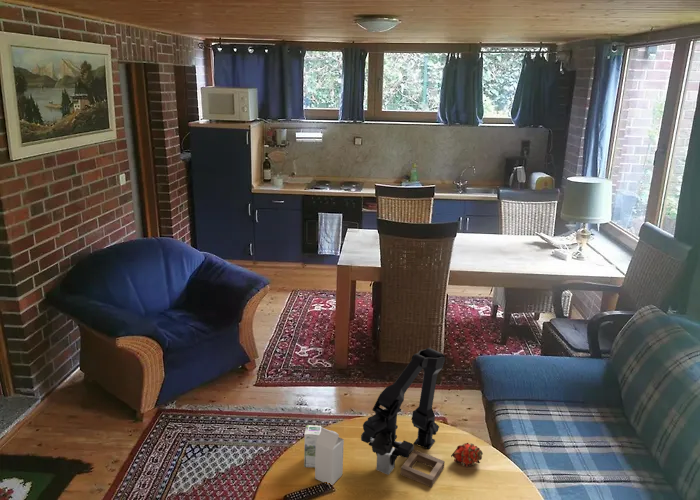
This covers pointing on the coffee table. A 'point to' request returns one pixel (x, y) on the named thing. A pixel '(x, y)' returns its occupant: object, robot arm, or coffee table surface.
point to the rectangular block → (385, 463)
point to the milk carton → (328, 456)
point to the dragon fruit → (467, 454)
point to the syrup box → (310, 445)
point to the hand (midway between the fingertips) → (385, 461)
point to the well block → (418, 475)
